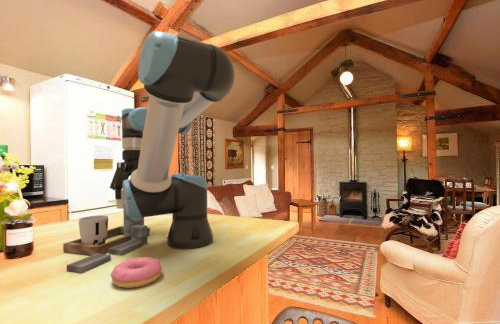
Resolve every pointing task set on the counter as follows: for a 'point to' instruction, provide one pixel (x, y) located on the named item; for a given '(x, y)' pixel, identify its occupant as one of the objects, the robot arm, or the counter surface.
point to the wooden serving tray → (90, 249)
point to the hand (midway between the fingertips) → (134, 205)
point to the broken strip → (112, 251)
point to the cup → (93, 229)
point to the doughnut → (136, 272)
